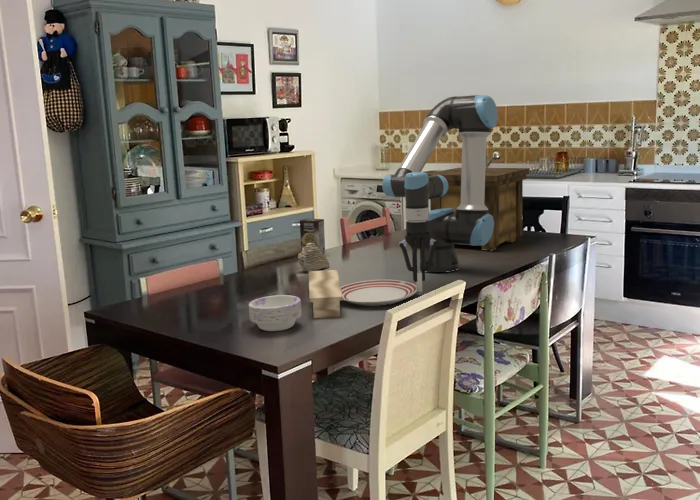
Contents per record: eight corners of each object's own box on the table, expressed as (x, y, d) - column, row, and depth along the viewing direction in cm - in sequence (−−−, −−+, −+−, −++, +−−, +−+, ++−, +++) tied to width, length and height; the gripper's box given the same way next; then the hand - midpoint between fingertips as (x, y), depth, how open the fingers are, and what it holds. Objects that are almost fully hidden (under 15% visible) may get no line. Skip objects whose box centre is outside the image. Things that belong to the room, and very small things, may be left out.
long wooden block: (337, 286, 246) (337, 269, 245) (343, 316, 210) (342, 296, 209) (309, 288, 246) (308, 271, 245) (310, 318, 210) (309, 298, 208)
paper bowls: (254, 320, 211) (252, 294, 209) (304, 318, 210) (303, 293, 208) (246, 336, 196) (243, 308, 194) (299, 334, 195) (297, 306, 194)
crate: (497, 254, 289) (497, 175, 283) (424, 247, 309) (422, 174, 303) (529, 239, 317) (529, 168, 311) (460, 234, 337) (459, 167, 331)
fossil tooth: (332, 270, 278) (304, 274, 267) (321, 268, 282) (293, 271, 272) (333, 242, 276) (305, 245, 266) (323, 240, 280) (294, 242, 270)
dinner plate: (355, 315, 211) (355, 304, 210) (322, 295, 236) (321, 286, 235) (433, 301, 222) (433, 291, 221) (393, 284, 247) (393, 275, 246)
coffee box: (300, 257, 301) (298, 220, 298) (307, 254, 307) (305, 218, 304) (320, 257, 298) (318, 220, 295) (326, 254, 304) (324, 218, 300)
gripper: (399, 223, 221) (401, 295, 225) (439, 221, 222) (441, 292, 226) (396, 219, 228) (398, 289, 233) (435, 217, 229) (436, 287, 233)
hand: (419, 290), depth 229 cm, fingers closed
